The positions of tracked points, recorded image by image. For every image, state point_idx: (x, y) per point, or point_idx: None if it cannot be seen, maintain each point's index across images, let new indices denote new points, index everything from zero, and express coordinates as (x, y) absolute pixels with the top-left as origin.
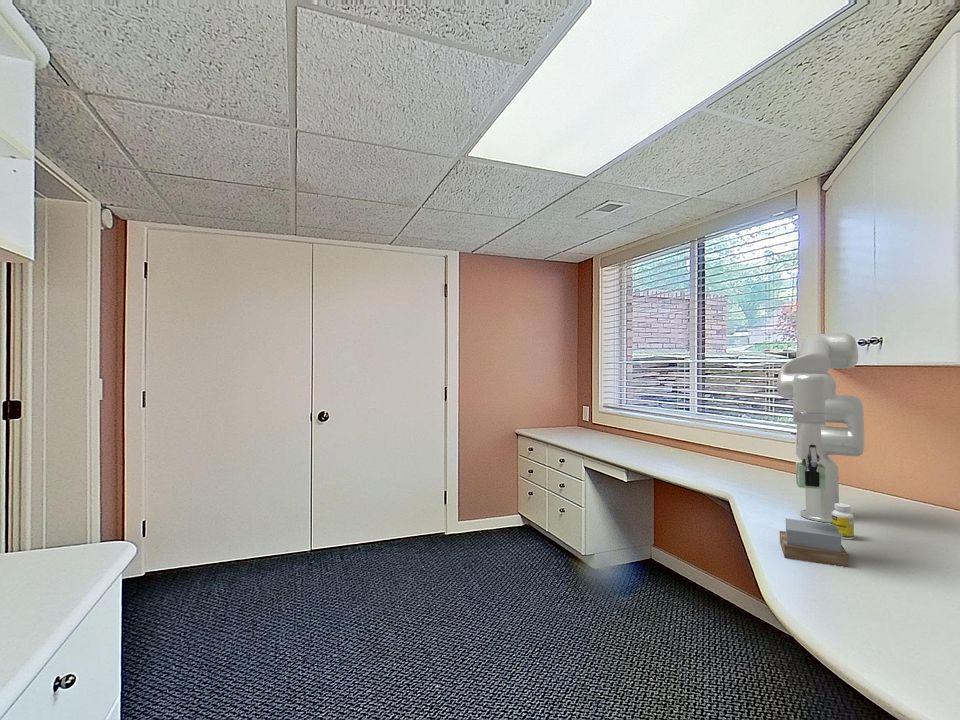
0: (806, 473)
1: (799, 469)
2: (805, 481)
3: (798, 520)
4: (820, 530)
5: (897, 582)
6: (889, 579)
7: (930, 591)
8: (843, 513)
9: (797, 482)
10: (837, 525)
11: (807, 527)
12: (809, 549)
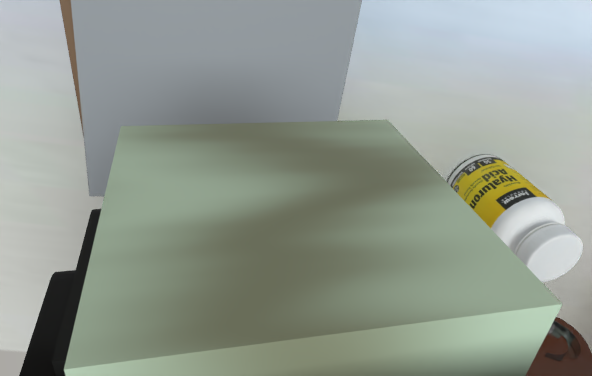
0: (60, 339)
1: (82, 302)
2: (84, 237)
3: (342, 35)
4: (168, 121)
5: (28, 261)
6: (44, 246)
7: (3, 318)
8: (509, 240)
9: (275, 136)
10: (483, 190)
11: (199, 62)
12: (66, 27)
